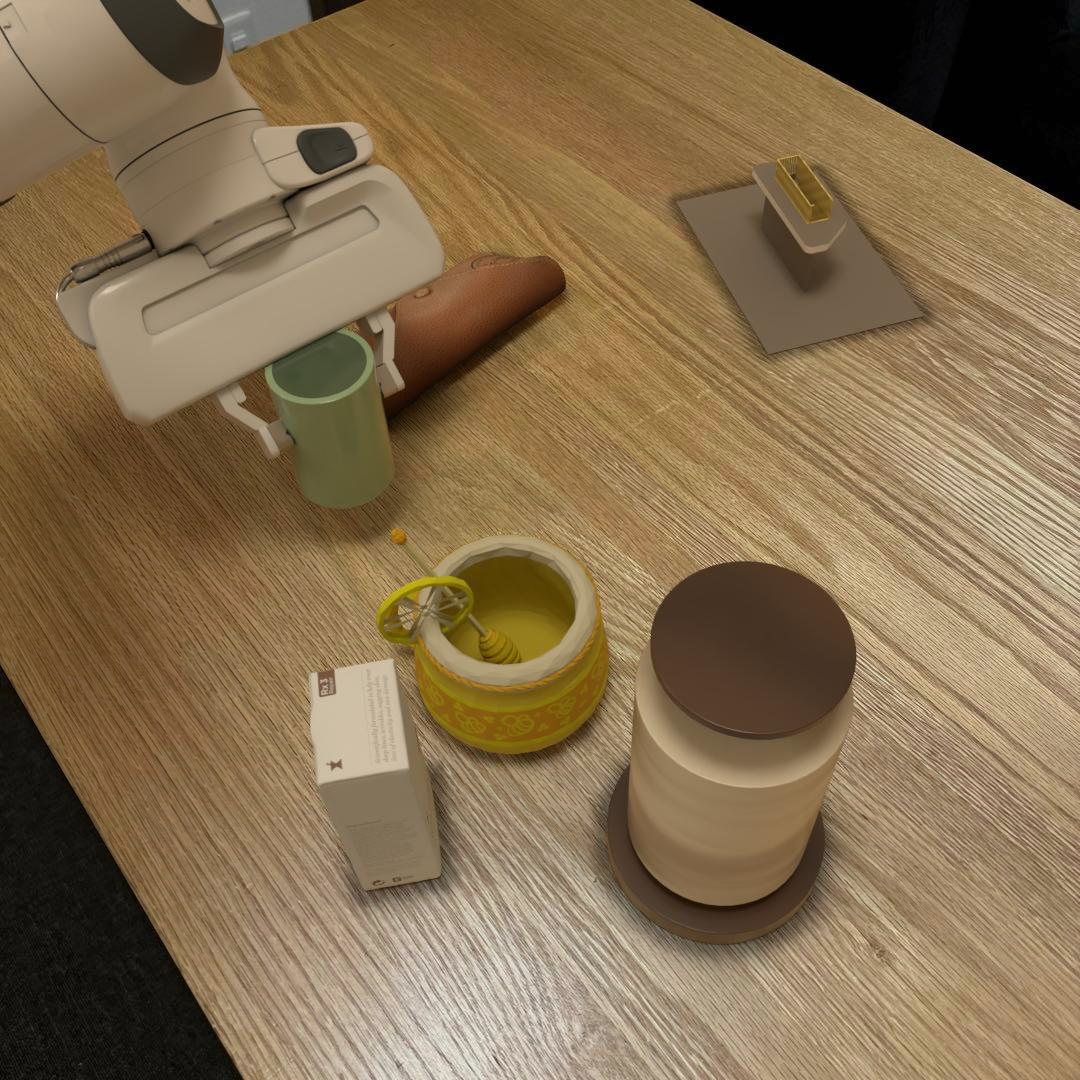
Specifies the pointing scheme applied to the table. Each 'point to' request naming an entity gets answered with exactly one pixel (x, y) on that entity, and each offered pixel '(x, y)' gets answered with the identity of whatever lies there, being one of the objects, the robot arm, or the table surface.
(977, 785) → the table surface
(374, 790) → the cosmetic box
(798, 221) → the platform
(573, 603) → the honey pot with dipper
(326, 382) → the cup
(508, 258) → the sunglasses case
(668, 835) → the holder
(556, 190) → the table surface
